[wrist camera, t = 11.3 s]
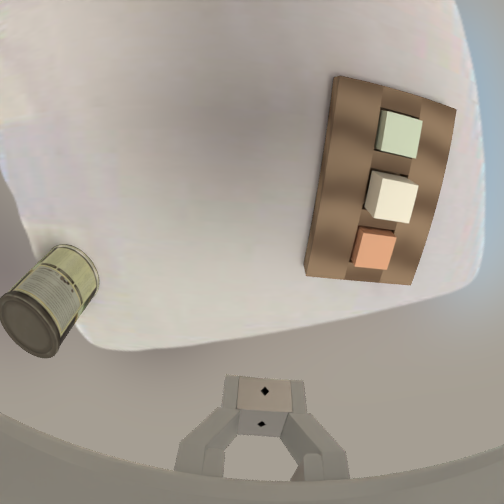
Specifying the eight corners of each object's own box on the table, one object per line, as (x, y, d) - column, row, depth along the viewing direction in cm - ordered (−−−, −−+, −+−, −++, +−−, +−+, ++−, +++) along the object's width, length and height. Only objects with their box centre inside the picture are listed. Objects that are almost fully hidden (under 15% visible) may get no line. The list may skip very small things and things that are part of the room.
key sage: (376, 109, 32) (387, 111, 29) (409, 118, 32) (422, 120, 29) (370, 145, 34) (380, 150, 31) (403, 152, 34) (415, 158, 31)
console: (333, 77, 31) (339, 75, 29) (444, 107, 32) (456, 109, 29) (303, 264, 42) (306, 275, 40) (403, 274, 42) (410, 285, 40)
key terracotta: (355, 221, 38) (363, 232, 35) (386, 225, 38) (396, 237, 35) (347, 252, 40) (354, 266, 37) (378, 256, 40) (386, 269, 37)
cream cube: (371, 170, 33) (382, 178, 30) (405, 177, 33) (418, 185, 30) (364, 206, 35) (373, 218, 32) (397, 212, 35) (408, 223, 32)
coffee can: (99, 308, 47) (61, 369, 35) (48, 288, 46) (4, 340, 34) (101, 255, 43) (53, 313, 30) (46, 235, 42) (-9, 283, 29)
